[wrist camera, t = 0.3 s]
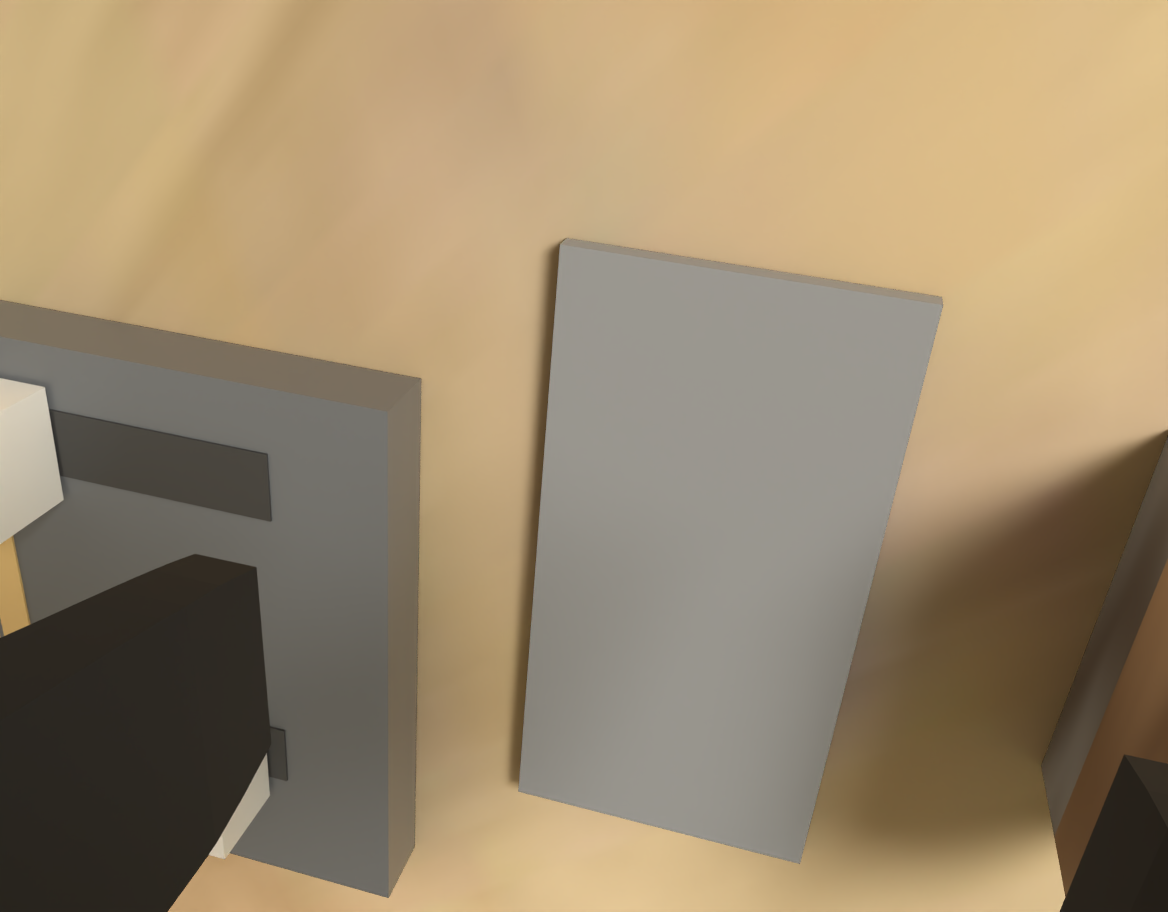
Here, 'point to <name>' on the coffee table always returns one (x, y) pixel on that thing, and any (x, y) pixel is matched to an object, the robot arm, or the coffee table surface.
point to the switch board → (249, 549)
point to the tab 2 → (244, 812)
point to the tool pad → (709, 534)
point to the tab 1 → (25, 457)
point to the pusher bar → (1115, 685)
